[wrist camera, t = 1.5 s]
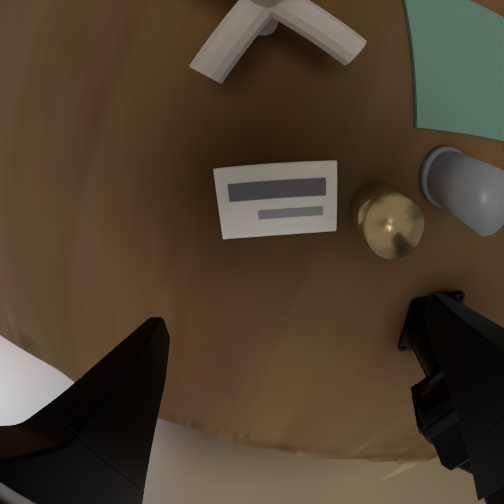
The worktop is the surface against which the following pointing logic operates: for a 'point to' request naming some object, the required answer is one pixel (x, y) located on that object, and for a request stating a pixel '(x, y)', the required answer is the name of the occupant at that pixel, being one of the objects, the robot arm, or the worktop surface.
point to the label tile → (277, 198)
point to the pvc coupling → (464, 188)
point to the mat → (457, 66)
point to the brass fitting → (386, 219)
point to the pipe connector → (264, 23)
